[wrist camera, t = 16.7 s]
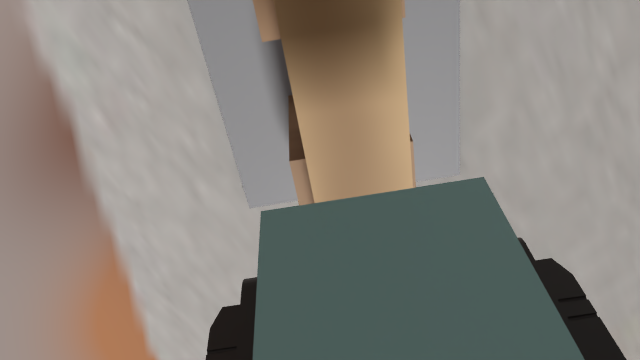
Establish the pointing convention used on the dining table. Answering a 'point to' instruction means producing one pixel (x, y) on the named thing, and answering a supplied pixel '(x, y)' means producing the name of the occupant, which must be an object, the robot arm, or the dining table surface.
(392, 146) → the plank
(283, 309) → the cube
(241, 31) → the board
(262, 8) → the pillar
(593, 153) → the dining table surface
